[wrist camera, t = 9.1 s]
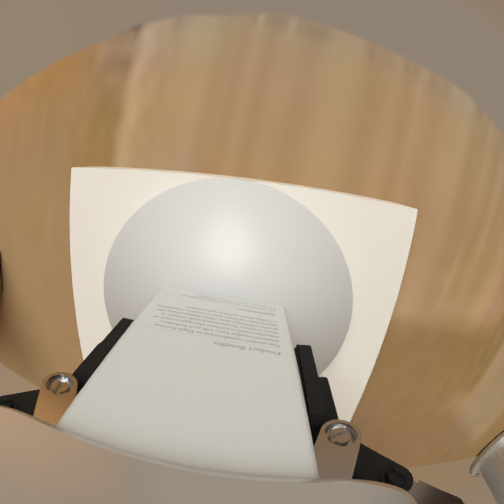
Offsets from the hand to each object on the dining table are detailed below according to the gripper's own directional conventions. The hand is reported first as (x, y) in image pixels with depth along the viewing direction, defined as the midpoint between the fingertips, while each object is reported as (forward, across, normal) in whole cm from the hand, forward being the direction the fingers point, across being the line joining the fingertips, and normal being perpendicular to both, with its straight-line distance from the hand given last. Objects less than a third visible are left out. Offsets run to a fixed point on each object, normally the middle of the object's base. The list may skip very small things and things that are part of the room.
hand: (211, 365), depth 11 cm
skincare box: (+3, 0, 0) cm, 3 cm away
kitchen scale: (+9, 0, +2) cm, 9 cm away
